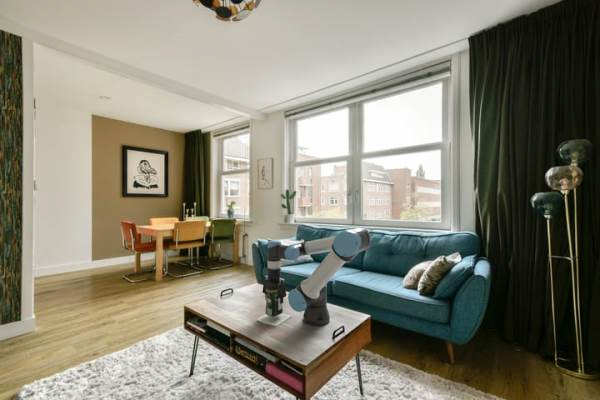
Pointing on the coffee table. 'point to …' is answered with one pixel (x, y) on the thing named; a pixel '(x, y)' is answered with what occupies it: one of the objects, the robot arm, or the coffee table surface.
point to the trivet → (274, 319)
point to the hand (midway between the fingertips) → (274, 307)
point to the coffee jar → (272, 299)
